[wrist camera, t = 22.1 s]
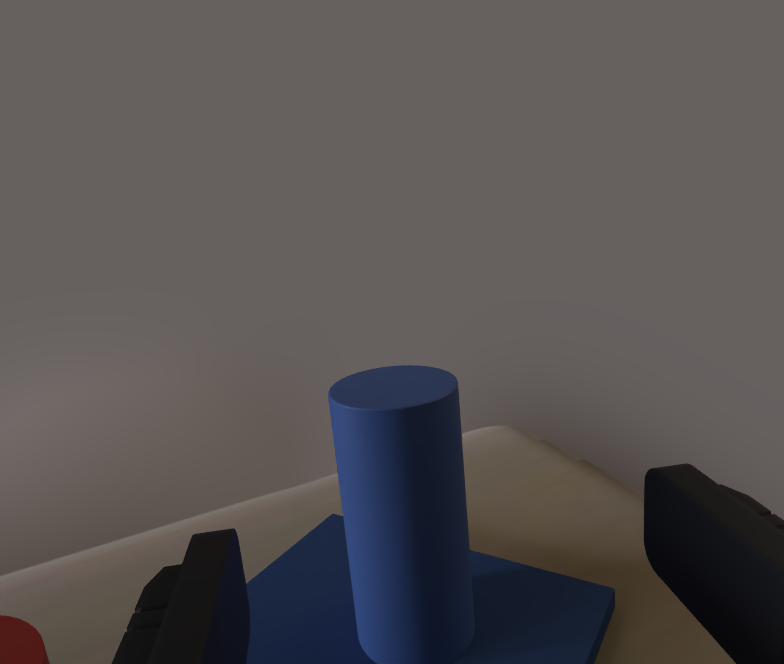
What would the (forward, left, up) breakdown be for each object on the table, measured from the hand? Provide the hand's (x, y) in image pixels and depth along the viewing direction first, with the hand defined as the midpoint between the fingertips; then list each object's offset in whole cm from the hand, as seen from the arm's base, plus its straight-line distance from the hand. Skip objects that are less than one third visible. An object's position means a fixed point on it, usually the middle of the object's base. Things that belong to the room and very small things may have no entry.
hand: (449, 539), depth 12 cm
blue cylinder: (-7, +9, -12) cm, 17 cm away
